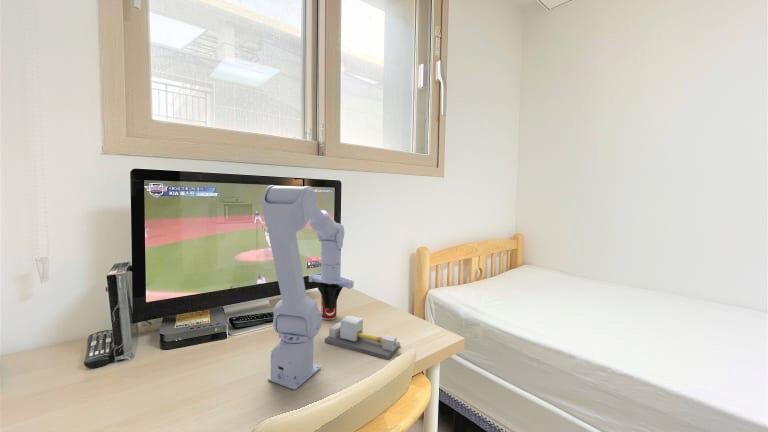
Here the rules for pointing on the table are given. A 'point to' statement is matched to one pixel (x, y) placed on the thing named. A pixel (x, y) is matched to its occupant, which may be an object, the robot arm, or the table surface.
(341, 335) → the sliding block
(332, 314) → the soda can
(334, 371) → the table surface
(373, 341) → the slider rail base
